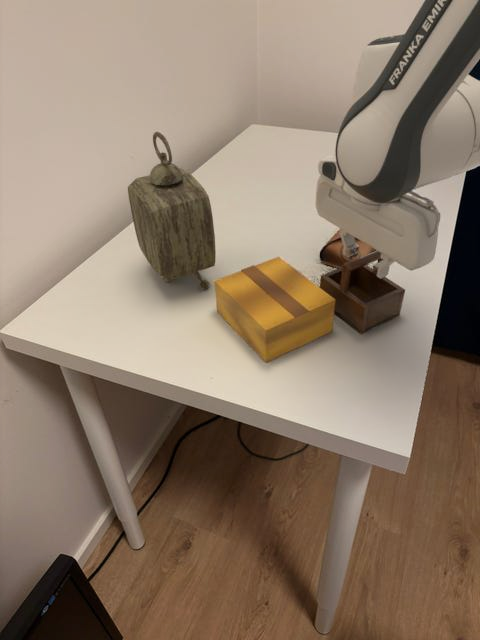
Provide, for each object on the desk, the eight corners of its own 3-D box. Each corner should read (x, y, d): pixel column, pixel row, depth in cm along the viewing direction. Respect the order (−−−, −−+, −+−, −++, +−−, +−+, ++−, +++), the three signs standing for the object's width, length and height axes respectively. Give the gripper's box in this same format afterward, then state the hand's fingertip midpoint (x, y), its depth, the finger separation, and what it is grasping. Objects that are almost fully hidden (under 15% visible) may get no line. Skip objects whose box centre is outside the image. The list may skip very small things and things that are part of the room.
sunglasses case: (363, 273, 83) (348, 239, 81) (329, 280, 88) (314, 248, 86) (398, 228, 95) (385, 197, 93) (366, 237, 100) (353, 208, 97)
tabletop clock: (219, 291, 82) (207, 143, 66) (168, 308, 79) (143, 156, 63) (186, 252, 92) (169, 115, 76) (140, 265, 89) (112, 126, 73)
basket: (399, 315, 75) (411, 263, 69) (360, 334, 72) (369, 281, 66) (355, 284, 82) (362, 234, 76) (318, 301, 79) (322, 249, 73)
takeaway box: (332, 331, 73) (335, 299, 69) (266, 362, 68) (266, 330, 64) (278, 286, 82) (278, 255, 78) (216, 311, 78) (214, 279, 74)
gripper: (461, 198, 57) (435, 292, 66) (344, 147, 71) (336, 231, 80) (423, 212, 55) (401, 308, 64) (310, 157, 68) (305, 243, 77)
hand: (364, 265), depth 72 cm, fingers open, 5 cm apart
